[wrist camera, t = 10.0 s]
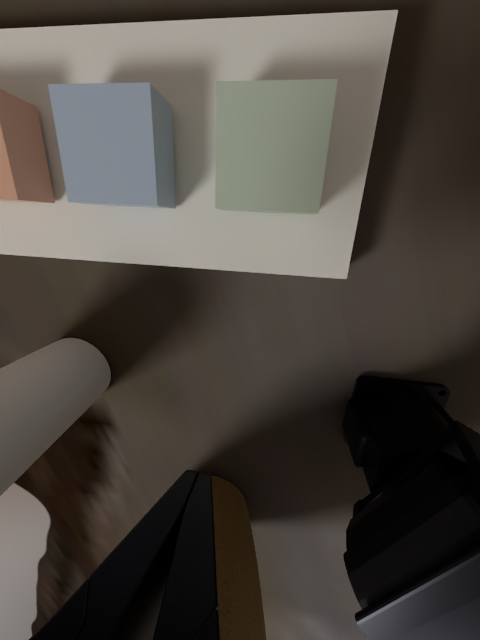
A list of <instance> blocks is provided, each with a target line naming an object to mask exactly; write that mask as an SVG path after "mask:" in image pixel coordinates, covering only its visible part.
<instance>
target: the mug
mask: <svg viewBox="0 0 480 640" xmlns="http://www.w3.org/2000/svg"><path fill="white" fill-rule="evenodd" d="M110 380H111V371H110V367H109V364H108V362H107V360H106V359H105V357H104V356H103V354H102V353H101V352H100V351H99V350H98V349H97V348H96V347H94V346H93V345H92V344H90V343H88V342H86V341H84V340H81V339H77V338H64V339H61V340H58V341H56V342H54V343H52V344H50V345H48V346H46V347H44V348H42V349H39V350H37V351H35V352H33V353H31V354H29V355H27V356H25V357H23V358H21V359H19V360H17V361H15V362H13V363H11V364H9V365H7V366H5V367H3V368H1V369H0V495H2V494H3V493H4V492H5V491H6V490H7V489H8V488H9V487H10V486H11V485H12V484H13V483H14V482H15V481H16V480H17V479H18V478H19V477H20V476H21V475H22V474H23V473H24V472H25V471H26V470H27V469H28V468H29V467H30V466H31V465H32V464H33V463H34V462H35V461H36V460H37V459H38V458H39V457H40V456H41V455H42V454H43V453H44V452H45V451H46V450H47V449H48V448H49V447H50V446H51V445H52V444H53V443H54V442H55V441H56V440H57V439H58V438H59V437H60V436H61V435H62V434H63V433H64V432H65V431H66V430H67V429H68V428H69V427H70V426H71V425H72V424H73V423H74V422H75V421H76V420H77V419H78V418H79V417H80V416H81V415H82V414H83V413H84V412H85V411H86V410H87V409H88V408H89V407H90V406H91V405H92V404H93V403H94V401H95V400H96V399H97V398H98V397H99V396H100V395H101V394H102V393H103V392H104V391H105V390H106V389H107V388H108V386H109V384H110Z"/></svg>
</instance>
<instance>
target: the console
mask: <svg viewBox="0 0 480 640" xmlns="http://www.w3.org/2000/svg"><path fill="white" fill-rule="evenodd" d="M397 14H398V10H383V11H362V12H341V13H321V14H300V15H279V16H258V17H238V18H217V19H196V20H175V21H154V22H134V23H113V24H92V25H71V26H50V27H30V28H9V29H0V89H1V90H3V91H5V92H7V93H9V94H11V95H13V96H15V97H17V98H20V99H22V100H24V101H26V102H28V103H30V104H32V105H34V106H36V107H37V110H38V115H39V121H40V126H41V131H42V137H43V142H44V147H45V153H46V158H47V163H48V169H49V174H50V180H51V185H52V190H53V196H54V201H55V203H38V202H15V201H0V254H7V255H21V256H35V257H49V258H62V259H76V260H90V261H104V262H117V263H131V264H145V265H159V266H172V267H186V268H200V269H214V270H227V271H241V272H255V273H269V274H282V275H296V276H310V277H324V278H337V279H347V274H348V269H349V264H350V259H351V254H352V248H353V243H354V238H355V233H356V228H357V222H358V217H359V212H360V207H361V201H362V196H363V191H364V186H365V181H366V175H367V170H368V165H369V160H370V154H371V149H372V144H373V139H374V134H375V128H376V123H377V118H378V113H379V108H380V102H381V97H382V92H383V87H384V81H385V76H386V71H387V66H388V61H389V55H390V50H391V45H392V40H393V35H394V29H395V24H396V19H397ZM312 79H338V82H337V89H336V96H335V103H334V110H333V117H332V124H331V131H330V138H329V145H328V152H327V159H326V167H325V174H324V181H323V188H322V195H321V202H320V209H319V213H317V214H314V215H309V214H287V213H264V212H241V211H224V210H220V209H215V177H216V88H217V81H257V80H312ZM140 82H150V83H151V84H152V85H153V86H154V87H155V88H156V89H157V90H158V91H159V93H160V94H161V95H162V96H163V97H164V98H165V99H166V100H167V101H168V102H169V103H170V104H171V105H172V118H173V144H174V171H175V198H176V209H174V208H151V207H128V206H106V205H92V204H82V203H72V202H68V199H67V193H66V187H65V181H64V175H63V170H62V164H61V158H60V152H59V146H58V140H57V134H56V129H55V123H54V117H53V111H52V105H51V99H50V93H49V87H48V84H84V83H140Z"/></svg>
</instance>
